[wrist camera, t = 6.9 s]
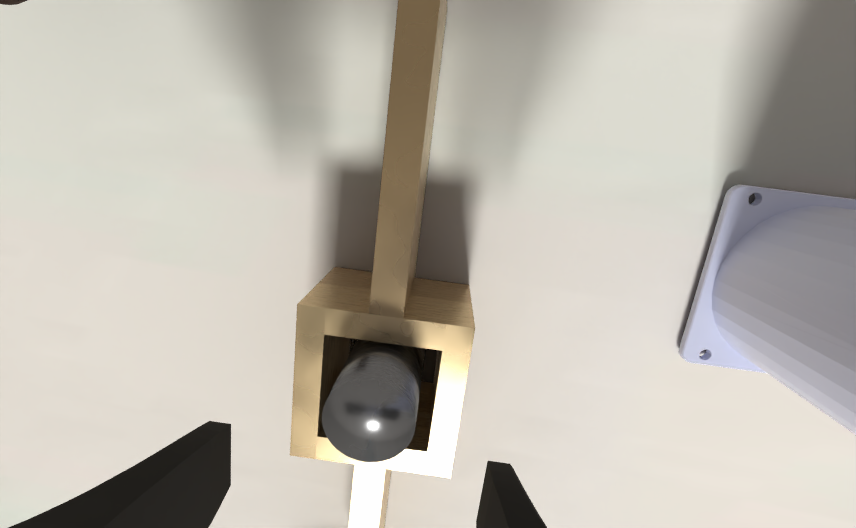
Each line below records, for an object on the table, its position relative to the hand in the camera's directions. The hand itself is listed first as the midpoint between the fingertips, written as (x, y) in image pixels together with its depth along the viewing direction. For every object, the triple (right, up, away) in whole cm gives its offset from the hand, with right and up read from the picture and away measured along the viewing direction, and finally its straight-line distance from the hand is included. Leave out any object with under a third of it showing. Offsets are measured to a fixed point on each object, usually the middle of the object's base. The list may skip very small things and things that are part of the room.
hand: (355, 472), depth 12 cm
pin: (0, +2, +9) cm, 9 cm away
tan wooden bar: (0, +2, +9) cm, 9 cm away
